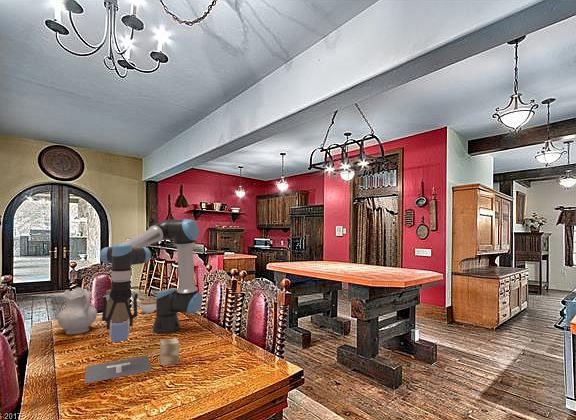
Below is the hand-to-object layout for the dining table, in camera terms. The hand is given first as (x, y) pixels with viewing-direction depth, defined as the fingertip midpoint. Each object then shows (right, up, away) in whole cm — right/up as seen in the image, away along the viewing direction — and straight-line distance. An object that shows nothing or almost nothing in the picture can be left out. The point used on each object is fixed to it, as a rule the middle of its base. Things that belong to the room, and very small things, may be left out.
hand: (119, 335), depth 140 cm
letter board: (0, -14, -1) cm, 14 cm away
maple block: (+19, -14, +7) cm, 25 cm away
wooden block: (-38, -18, +73) cm, 84 cm away
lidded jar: (-27, -19, +94) cm, 99 cm away
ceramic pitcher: (-49, -17, +50) cm, 72 cm away
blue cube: (0, -1, 0) cm, 1 cm away
